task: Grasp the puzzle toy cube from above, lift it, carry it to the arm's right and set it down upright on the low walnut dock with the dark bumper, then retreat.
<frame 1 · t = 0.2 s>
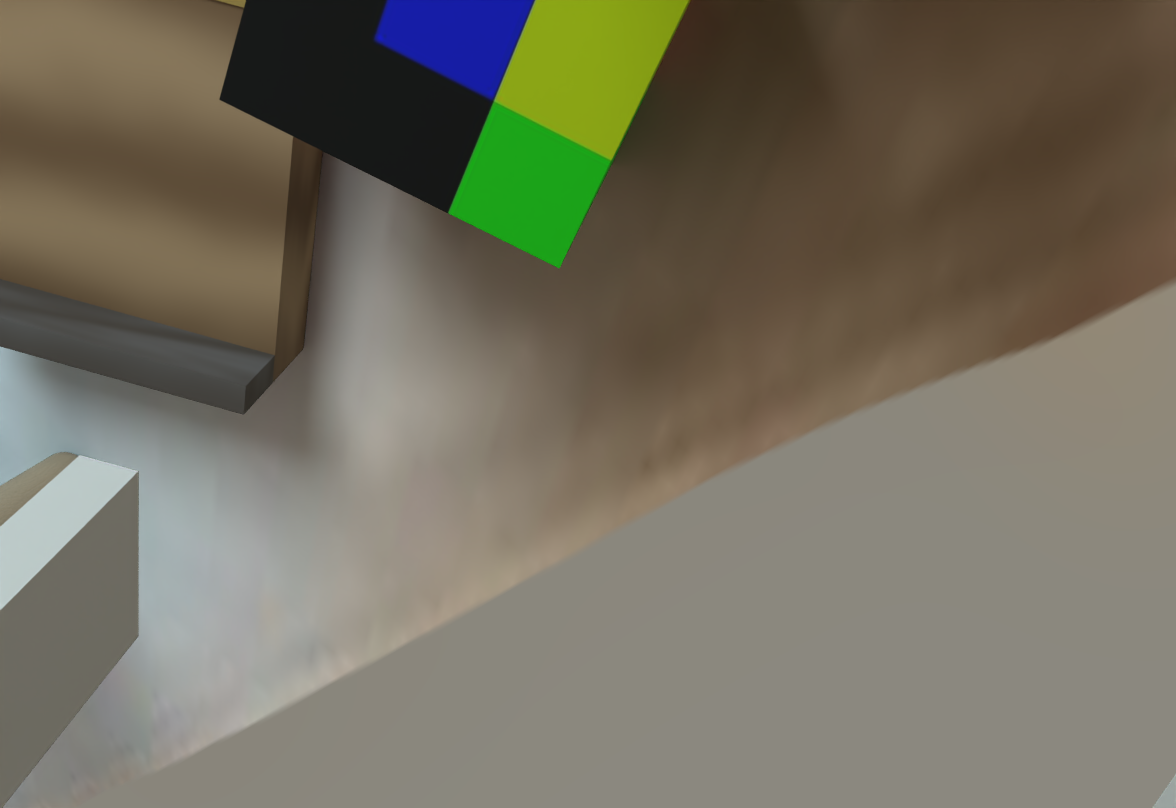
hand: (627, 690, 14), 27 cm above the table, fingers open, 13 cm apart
dock: (152, 126, 40), on the table
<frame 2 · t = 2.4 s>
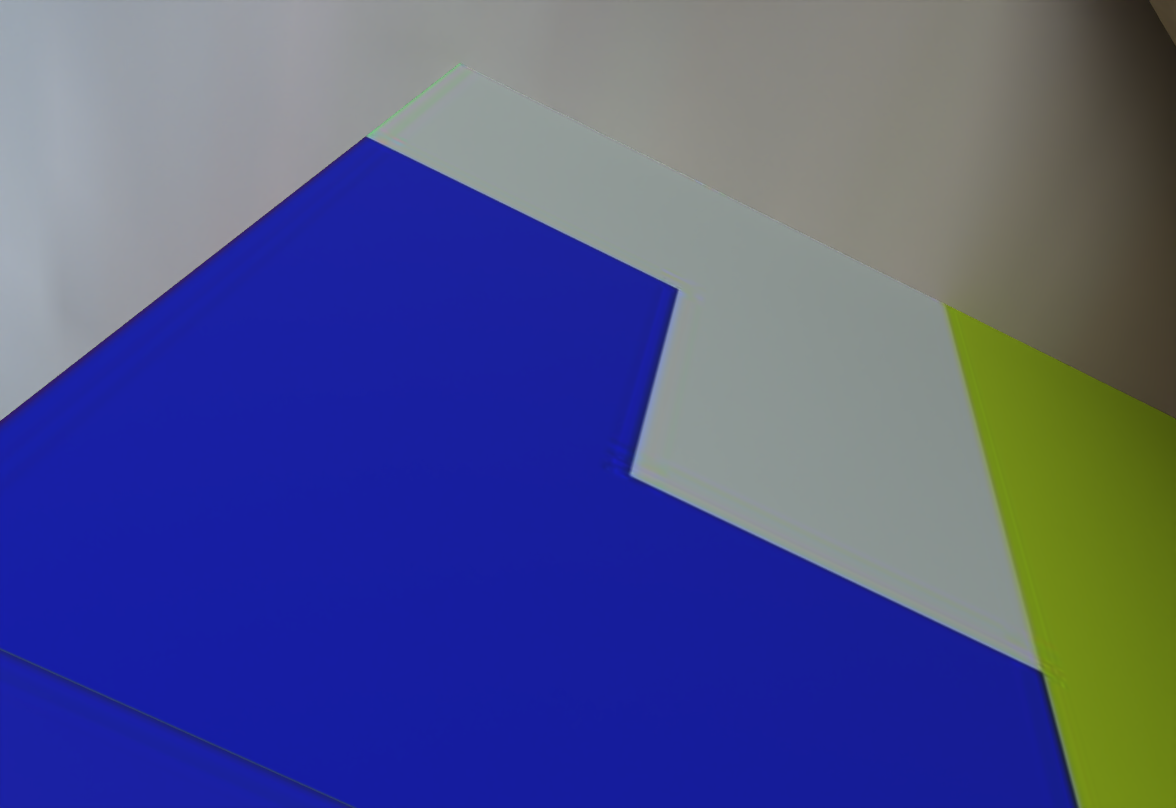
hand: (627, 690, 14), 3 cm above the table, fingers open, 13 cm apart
puzzle toy: (654, 517, 16), on the table
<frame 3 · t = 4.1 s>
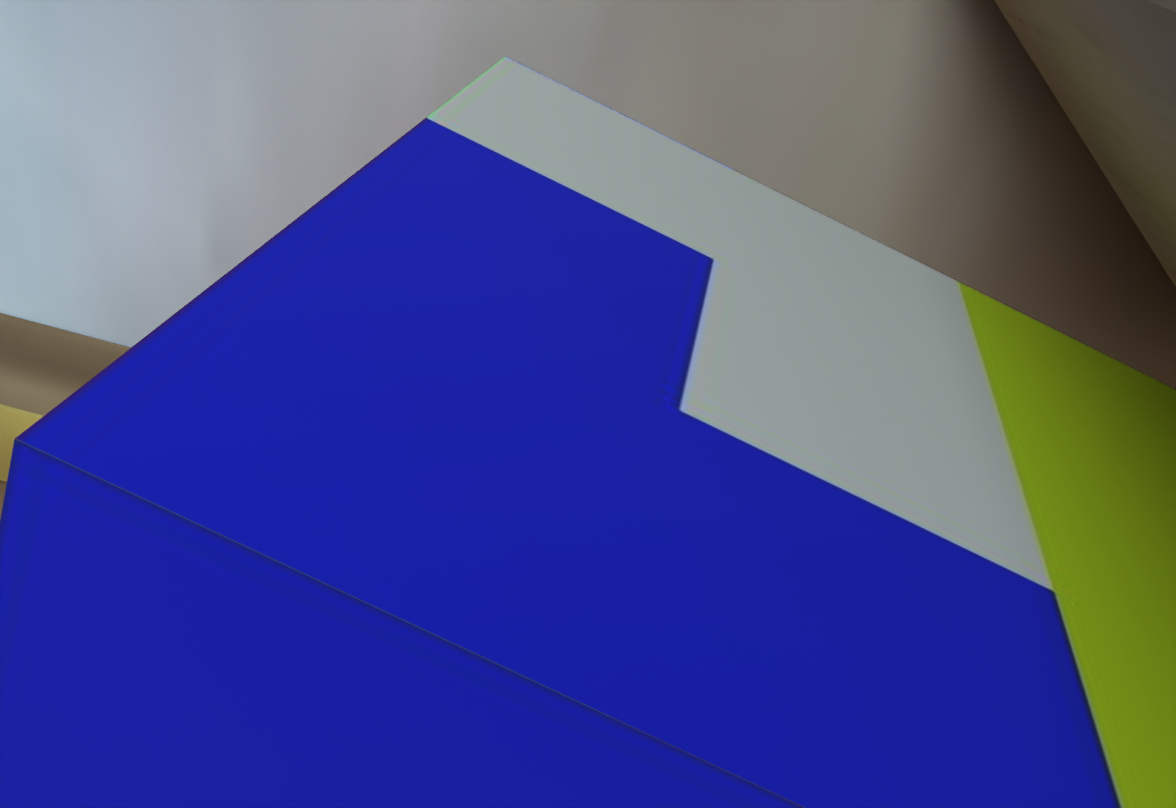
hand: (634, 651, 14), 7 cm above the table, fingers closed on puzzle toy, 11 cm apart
puzzle toy: (681, 492, 17), point 4 cm above the table, touching gripper
dock: (41, 603, 26), on the table
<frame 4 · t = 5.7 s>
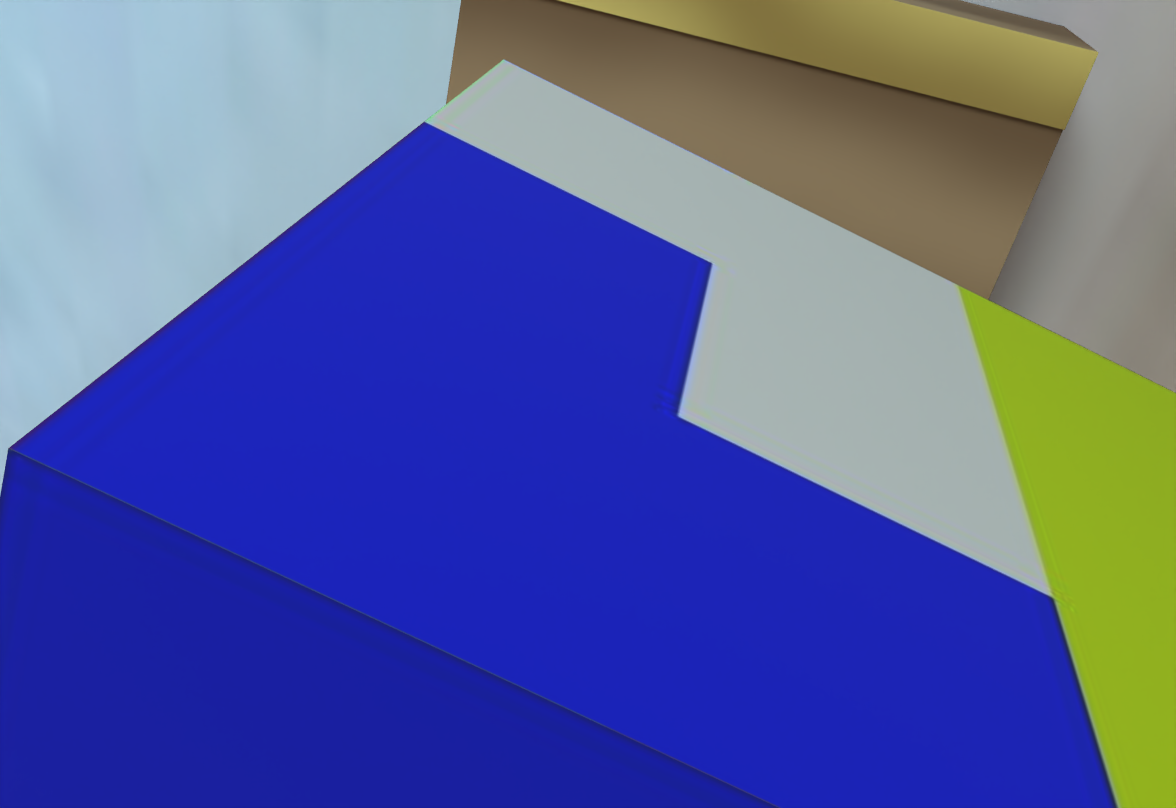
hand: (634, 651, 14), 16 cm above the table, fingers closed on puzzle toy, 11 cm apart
puzzle toy: (680, 495, 17), point 13 cm above the table, touching gripper
dock: (698, 256, 28), on the table
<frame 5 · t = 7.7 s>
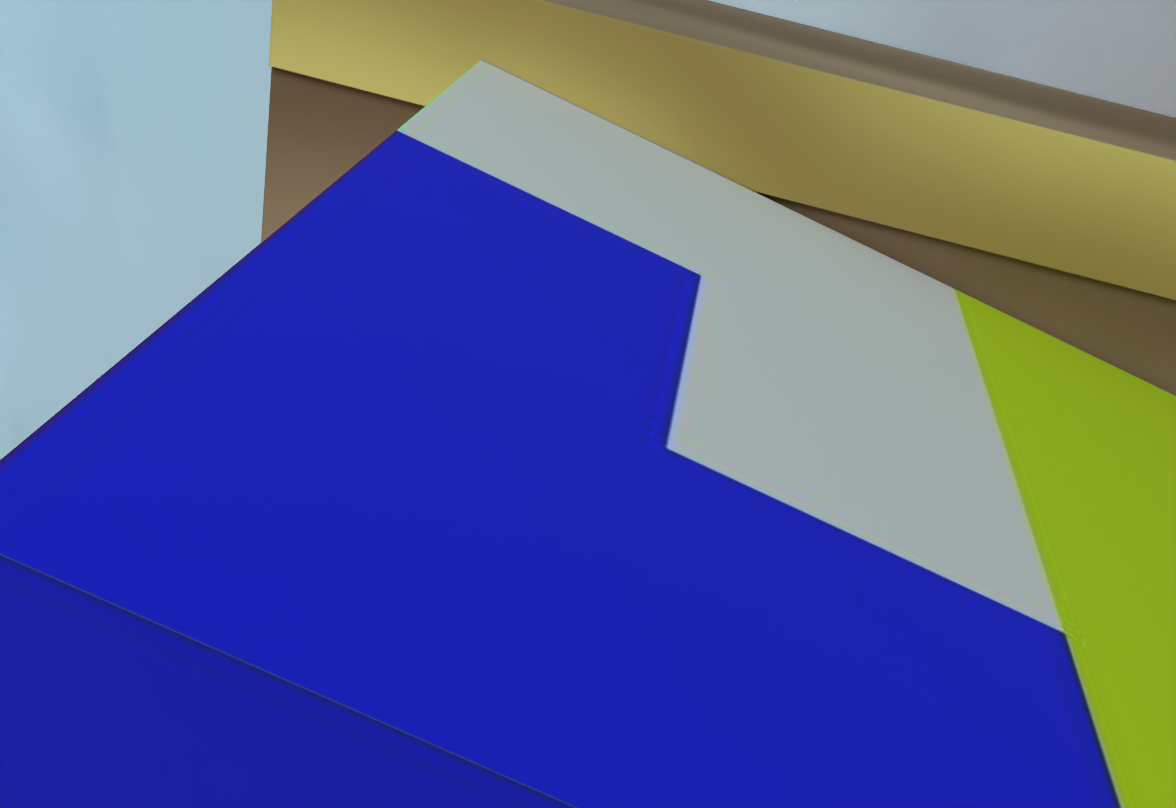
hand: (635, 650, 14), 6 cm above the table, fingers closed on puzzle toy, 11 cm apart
puzzle toy: (671, 506, 17), point 3 cm above the table, touching dock, gripper
dock: (668, 449, 19), on the table
when the fingers open (6 cm above the table, at t = 8.2 s): puzzle toy stays where it is, resting on dock.
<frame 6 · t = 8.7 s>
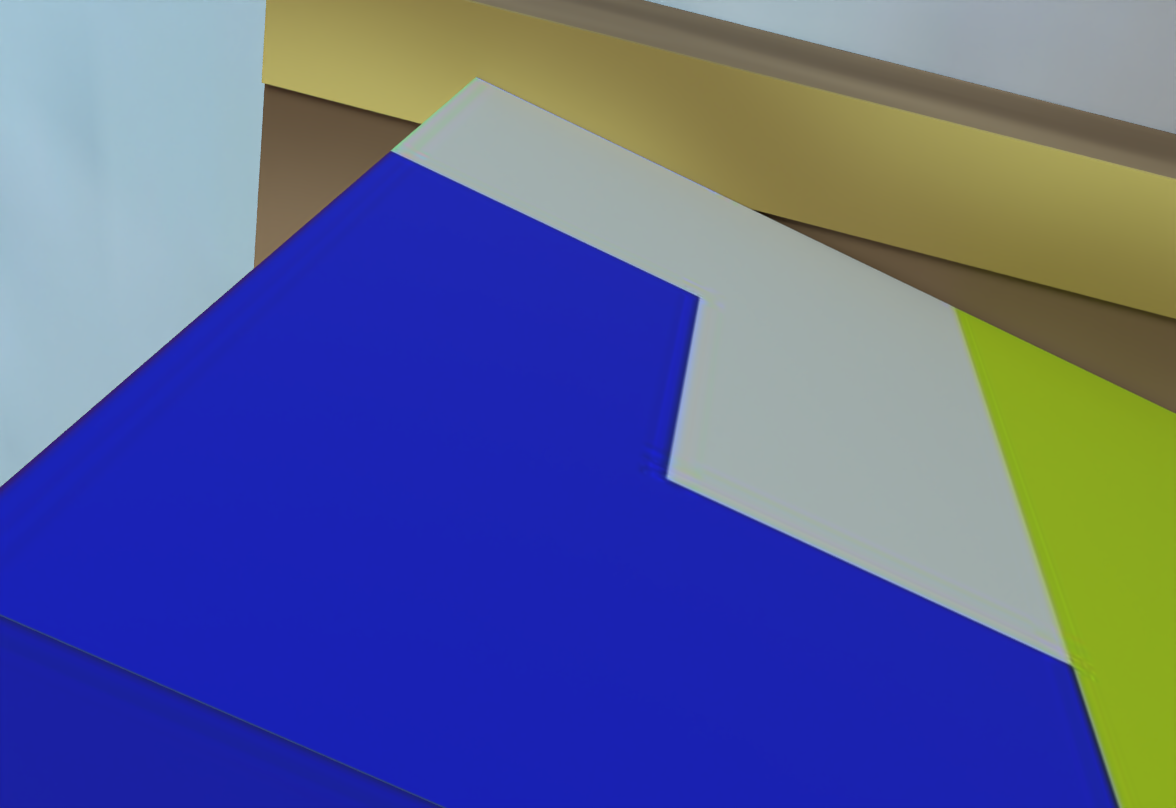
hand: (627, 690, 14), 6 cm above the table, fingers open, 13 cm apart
puzzle toy: (668, 525, 16), point 3 cm above the table, touching dock
dock: (666, 465, 19), on the table
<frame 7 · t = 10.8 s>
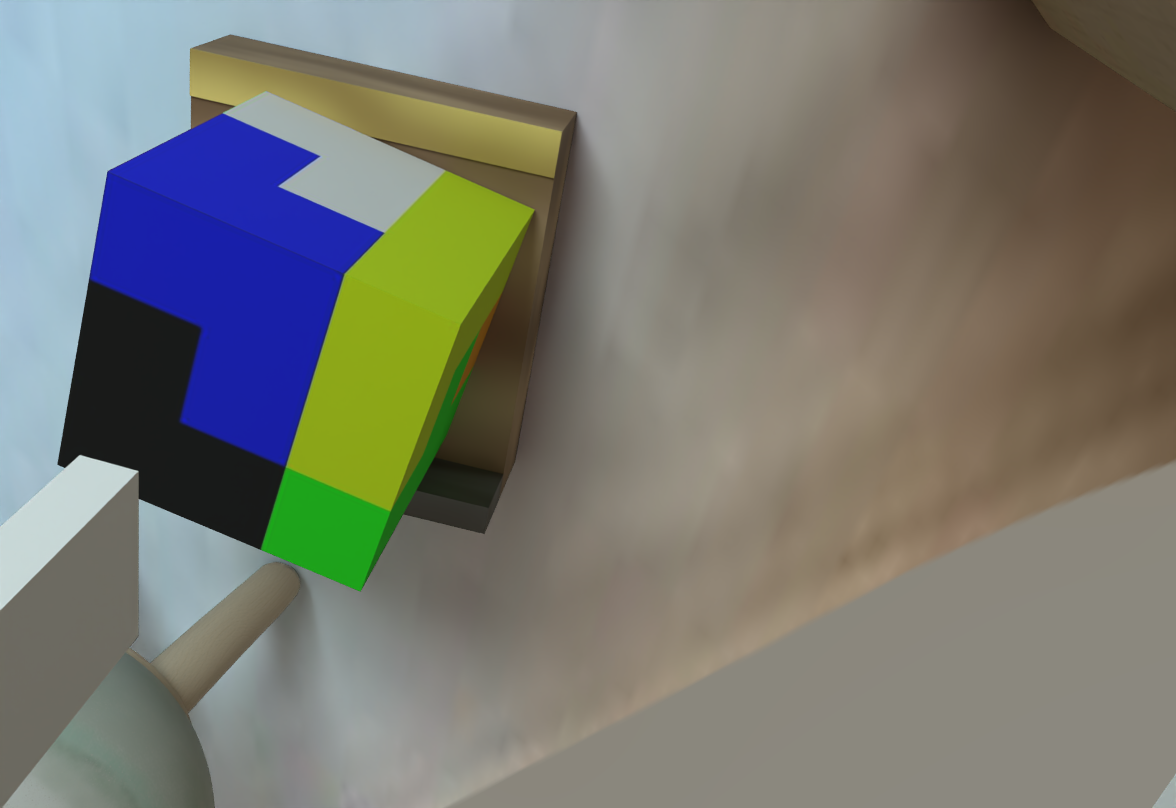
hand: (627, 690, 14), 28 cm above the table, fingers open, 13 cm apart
puzzle toy: (364, 272, 40), point 3 cm above the table, touching dock
dock: (383, 264, 43), on the table
planter: (183, 584, 52), on the table
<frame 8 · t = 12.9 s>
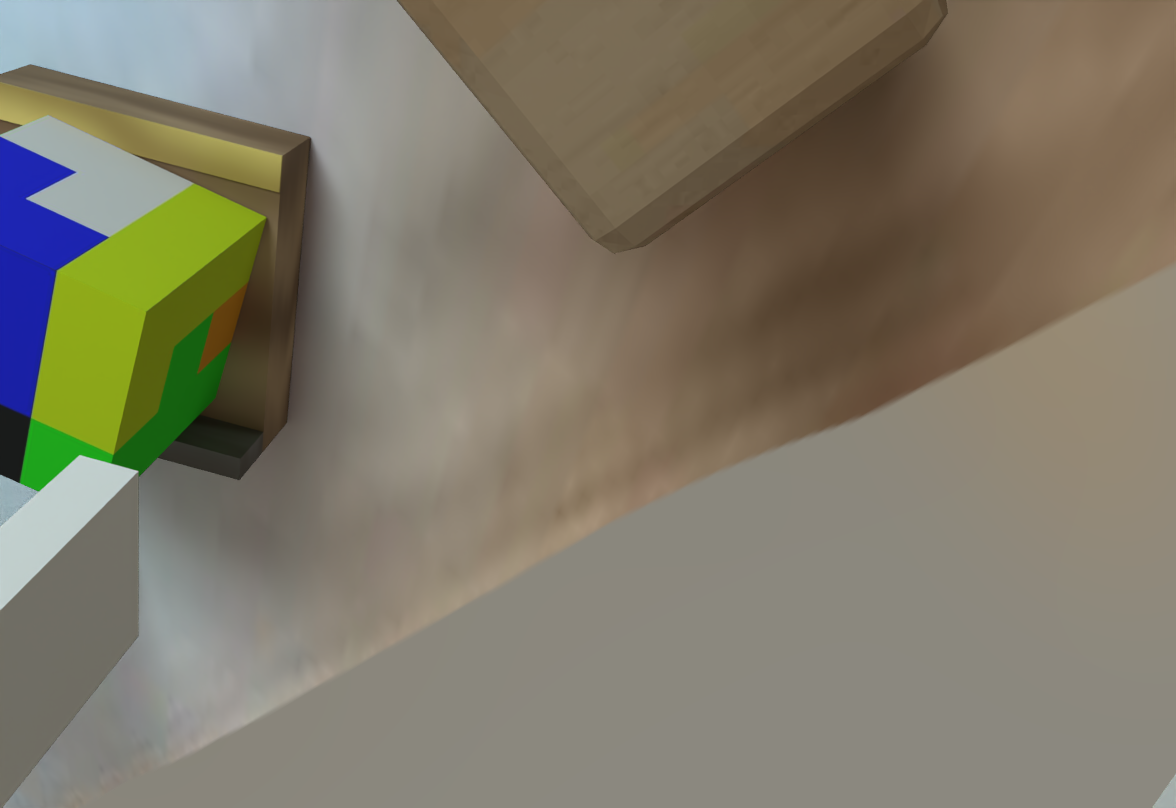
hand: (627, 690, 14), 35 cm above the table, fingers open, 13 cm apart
puzzle toy: (138, 263, 49), point 3 cm above the table, touching dock
dock: (167, 255, 52), on the table
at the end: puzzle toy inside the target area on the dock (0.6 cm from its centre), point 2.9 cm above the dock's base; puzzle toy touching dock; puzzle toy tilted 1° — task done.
